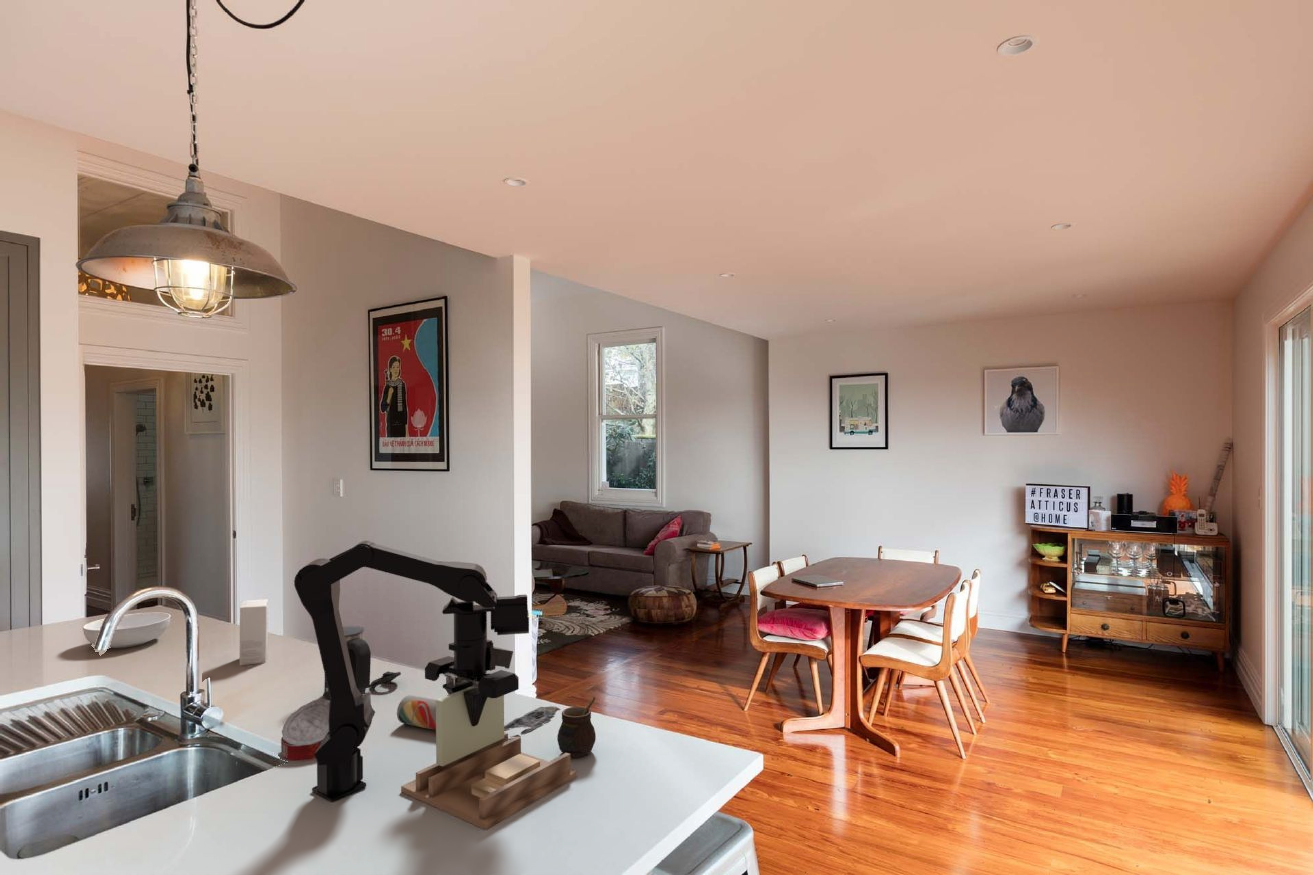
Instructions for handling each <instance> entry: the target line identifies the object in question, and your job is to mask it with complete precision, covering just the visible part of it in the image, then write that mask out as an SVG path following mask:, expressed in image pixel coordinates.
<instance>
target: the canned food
mask: <svg viewBox="0 0 1313 875" xmlns="http://www.w3.org/2000/svg"><path fill="white" fill-rule="evenodd" d="M329 708H330V700H328V699H326V698H322V699H314V700H312V701H309V702H308V703H305V704H304V705H301V706H300V707H299V708H298V709H296V710H295V711H294V712H293V713H291V714H290V716H288V719H286V721H285V722H284V724H283V727H282V729H281V735H282V736H281V739H280V744H281V745H280V751H281V752H280V756H281V757H282V758H283V759H285V760H288V761H293V762H294V761H296V762H297V761H298V762H299V761H301V762H302V761H309V760H313V759H316V757H315V753H316V751H317V749H318V748H319V746H320V744H321V742H322V741H323V739H324V737H325V736H326V734H327V733H328V732H329Z"/></svg>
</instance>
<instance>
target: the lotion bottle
mask: <svg viewBox="0 0 1313 875" xmlns="http://www.w3.org/2000/svg"><path fill="white" fill-rule="evenodd" d="M396 716H397V720H398V722H400V723H402V724H404V725H408V726H414V727H419V728H422V729H423V728H424V729H429V730H433V731H436V699H433V698H428V697H422V696H417V695H411V694H408V695H406V696H405V697H403V698H402V699H401V700H400V702H399V703H398V706H397V709H396Z"/></svg>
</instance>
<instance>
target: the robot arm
mask: <svg viewBox="0 0 1313 875" xmlns="http://www.w3.org/2000/svg"><path fill="white" fill-rule="evenodd" d="M362 568H369V569H371V570H376V571H379V572H383V573H387V574H391V575H395V576H397V577H398V576H399V577H402V578H407V579H409V580H413V581H417V582H420V583H421V582H422V583H425V584H427V585H428V584H429V585H430V586H432V587H433V586H434V587H435V588H437V589H439V590H441V591H442V592H443V593H445V594H446V595H448V596H452V597H451V598H450V600H449V601H448V602H447V604H445V605H444V606H443V608H442V614H443V615H453V642H451V643H448V650H450V651H453V656H449V655H447V656H445V657H441V658H437V659H435V660H431V661H429V662H428V663H427V664H426V666H425V667H424V679H426V680H429V681H432V682H436V681H437V680H438V679H439V678H440V675H441V674H443V676H444V677H445V683H444V684H442V689H445V691H446V692H447V695H450V694H452V693H455V692H458V691H461V690H463V689H466V688H469V687H472V689H470V690H467V691H465V692H463V693H464V698H465V702H466V706H467V710H468V714H469V719H470V722H471V725H472V726H476V725H478V723H479V720H480V717H481V714H482V711H483V708H484V705H485V702H486V700H487V698H488V697H489V698H498V697H500V696H503V695H504V696H505V695H507V694H510V693H513V692H514V691H518V690H519V689H520V686H519V685H520V683H519V676H518V675H517V674H516V673H515V672H510V671H507V670H509V669H510V667H511V662H512V657H513V654H514V651H513V650H509V649H507V648H506V649H505V648H501V647H496V646H494V642H493V640H490V639H488V613H489V612H490V630H491V631H494V633H496V634H497V636H507V635H508V636H509V635H521V634H522V635H523V634H529V633H530V616H529V608H528V595H527V594H518V595H511V596H509V595H508V596H498V594H497V592H496V591H495V590H494V589H493V588H492V586H491V585H490V584H489V582H488V581H487V580H488V576H487V572H486V571H485V569H484V567H482V566H481V565H480V564H478V563H474V562H465V561H439V560H436V559H432V558H427V557H424V556H421V555H417V554H413V553H409V552H406V551H402V550H399V549H396V548H391V547H387V546H384V545H380V544H376V543H375V542H373V541H372V540H363V541H360V542H359V543H357V544H355V545H354V546H353V547H351V548H349V549H346V550H344V551H343V552H341V553H338V554H337V555H334V556H333V557H331V558H329V559H328V558H316V559H314V560H312V561H311V562H309V563H308V564H306V565H304V566H303V567H302V568H301V569H299V570H298V572H297V573H296V574H295V577H294V581H293V584H294V589H295V591H296V593H297V596H298V598H299V600H300V602H301V604H302V606H303V607H304V609H305V610H306V612H307V613H308V614H309V616H310V618H311V620H312V623H313V628H314V633H315V638H316V641H317V645H318V650H319V655H320V659H321V663H322V668H323V673H324V678H325V677H326V682H327V686H328V691H329V695H330V699H329V701H330V708H329V732H328V733H327V734H326V736H325V737H324V739H323V741H322V742H321V744H320V746H319V748H318V749H317V751H316V753H315V757H316V758H315V759H316V786H313V787H312V788H311V792H312V793H314V794H316V795H318V796H320V797H322V798H325V799H326V800H328V801H331V802H335V801H337V800H340V799H341V798H344V797H346V796H347V795H351V794H353V793H355V792H358V791H360V790H362V789H364V788H366V787H367V782H365V781H363V779H364V756H362V753H361V752H362V751H361V748H359V746H361V745H362V744H363V742H364V740H365V739H366V737H367V734H368V733H369V732H368V731H369V730H370V728H371V725H372V721H373V718H374V717H375V714H376V711H375V710H374V708H373V705H372V700H371V696H372V695H371V692H370V691H369V692H366V693H362V694H361V693H360V691H359V690H358V688H357V687H356V684H355V680H354V675H353V671H352V666H351V662H350V657H349V653H348V648H347V644H346V640H345V635H344V631H343V627H344V626H343V623H342V618H341V614H340V608H339V607H340V598H341V596H340V594H341V580H342V579H344V578H345V577H348V576H349V575H351V574H354V572H356V571H359V570H360V569H362ZM455 598H456V599H455ZM457 599H458V600H460V601H458V600H457ZM475 603H476V604H475ZM496 667H501V668H502V667H504V668H505V669H507V670H503V669H499V670H497V671H495V672H492V673H487V671H489V672H490V671H494V670H496Z"/></svg>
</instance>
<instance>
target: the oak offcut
mask: <svg viewBox="0 0 1313 875" xmlns="http://www.w3.org/2000/svg"><path fill="white" fill-rule="evenodd" d="M538 767H540V761H539V760H536V759H533V758H530V757H528V756H525V755H522V754H518V755H516V756H514V757H512V758H510V759H508V760H506V761H504V762H502V763H500V764H498V765H496V766H494V767H492V768H490V769H488V770H486V771H485V780H487V781H490V782H492V783H495V784H497V785H500V786H504V785H506V784H508V783H510V782H512V781H514V780H516V779H518V778H519V777H521V776H523V775H525V774H527V773H529V772H531V771H533V770H534V769H536V768H538Z"/></svg>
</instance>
